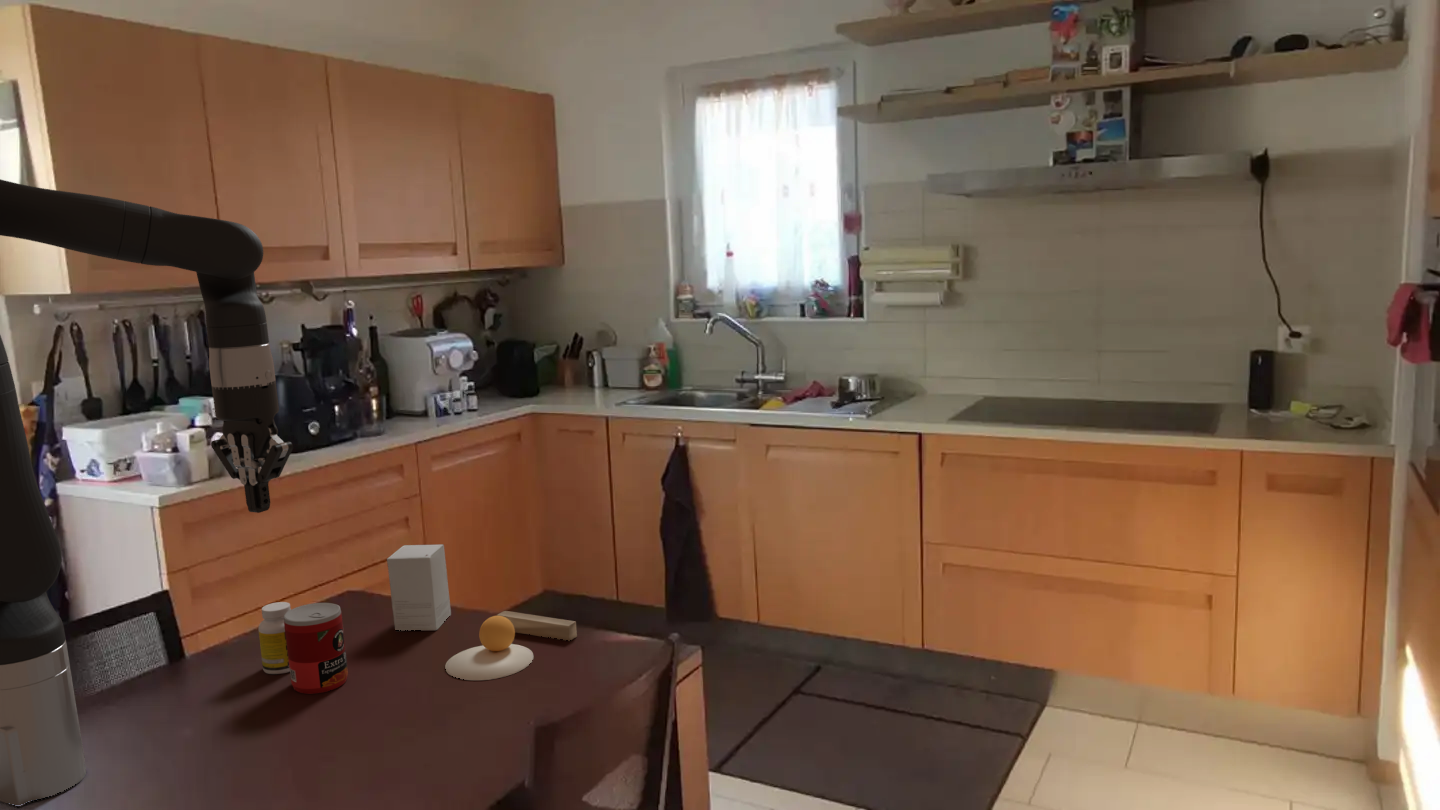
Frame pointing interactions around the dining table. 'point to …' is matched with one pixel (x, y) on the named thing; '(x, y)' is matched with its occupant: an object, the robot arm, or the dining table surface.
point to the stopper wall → (541, 625)
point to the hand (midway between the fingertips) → (259, 510)
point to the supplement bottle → (274, 638)
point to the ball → (497, 633)
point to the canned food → (316, 647)
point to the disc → (488, 662)
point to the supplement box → (419, 587)
